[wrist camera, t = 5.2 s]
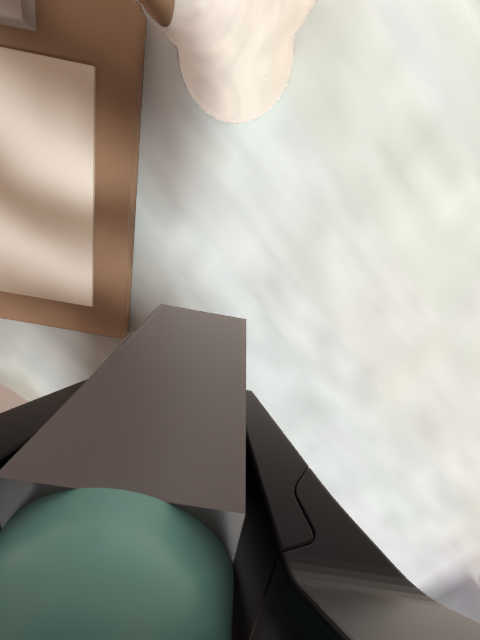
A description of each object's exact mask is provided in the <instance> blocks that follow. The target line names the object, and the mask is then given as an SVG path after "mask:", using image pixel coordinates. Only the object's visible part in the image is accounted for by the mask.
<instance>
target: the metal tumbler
mask: <svg viewBox="0 0 480 640" xmlns="http://www.w3.org/2000/svg"><path fill="white" fill-rule="evenodd" d="M139 1H140V2H141V4H142V5H143V7H144V8H145V9H146V11H147V12H148V13H149V15H150V16H151V17H152V18H153V19H154V21H155V22H156V23H157V24H158V25H159V27H160V28H161V29H162V30H163V32H164V33H165V34H166V35H167V36H168V37H169V39H170V40H171V41H172V42H173V43H174V44H175V45H176V47H177V48H178V55H179V63H180V69H181V73H182V76H183V79H184V82H185V85H186V87H187V89H188V91H189V93H190V95H191V96H192V98H193V99H194V101H195V102H196V103H197V105H198V106H199V107H200V108H201V109H202V110H203V111H205V112H206V113H207V114H209V115H210V116H212V117H214V118H215V119H218V120H220V121H223V122H227V123H245V122H249V121H252V120H255V119H257V118H259V117H261V116H262V115H264V114H265V113H266V112H268V111H269V110H270V109H271V108H272V107H273V106H274V105H275V104H276V102H277V101H278V100H279V98H280V97H281V95H282V93H283V92H284V90H285V88H286V86H287V83H288V81H289V78H290V74H291V70H292V65H293V58H294V36H295V34H296V33H297V31H298V30H299V28H300V27H301V25H302V24H303V22H304V21H305V19H306V17H307V16H308V14H309V13H310V11H311V9H312V8H313V6H314V5H315V3H316V1H317V0H139Z"/></svg>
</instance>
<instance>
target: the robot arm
mask: <svg viewBox="0 0 480 640" xmlns="http://www.w3.org/2000/svg"><path fill="white" fill-rule="evenodd" d="M87 380H88V379H87ZM87 380H84V381H82V382H79V383H77V384H74V385H72V386H69V387H66V388H64V389H61V390H59V391H56V392H54V393H51V394H48V395H46V396H43V397H41V398H38V399H36V400H33V401H31V402H28V403H25V404H23V405H20V406H18V407H15V408H13V409H10V410H8V411H5V412H3V413H0V470H1V469H2V468H3V467H4V466H5V465H6V463H7V462H8V461H9V460H10V459H11V458H12V457H13V456H14V455H15V454H16V453H17V452H18V451H19V450H20V449H21V448H22V447H23V446H24V445H25V444H26V443H27V442H28V441H29V440H30V439H31V438H32V437H33V436H34V435H35V434H36V433H37V432H38V430H39V429H40V428H41V427H42V426H43V425H44V424H45V423H46V422H47V421H48V420H49V419H50V418H51V417H52V416H53V415H54V414H55V413H56V412H57V411H58V410H59V409H60V408H61V407H62V406H63V405H64V404H65V403H66V402H67V401H68V400H69V399H70V397H71V396H72V395H73V394H74V393H75V392H76V391H77V390H78V389H79V388H80V387H81V386H82V385H83V384H84V383H85V382H86V381H87ZM0 531H1V524H0ZM232 568H233V572H234V595H233V624H232V640H480V623H479V622H477V621H474V620H472V619H470V618H468V617H466V616H464V615H462V614H460V613H458V612H456V611H454V610H452V609H450V608H448V607H446V606H444V605H442V604H440V603H438V602H437V601H435V600H433V599H432V598H430V597H429V596H427V595H426V594H425V593H423V592H422V591H421V590H419V589H418V588H417V587H416V586H415V585H414V584H412V583H411V582H410V581H409V580H408V579H407V578H406V577H405V576H404V575H403V574H402V573H401V572H400V571H399V570H398V569H397V568H396V567H395V565H394V564H393V563H392V562H391V561H390V560H389V559H388V558H387V557H386V556H385V554H384V553H383V552H382V551H381V550H380V549H379V548H378V547H377V546H376V545H375V543H374V542H373V541H372V540H371V539H370V538H369V537H368V536H367V535H366V534H365V533H364V531H363V530H362V529H361V528H360V527H359V526H358V525H357V524H356V523H355V522H354V520H353V519H352V518H351V517H350V516H349V515H348V514H347V513H346V511H345V510H344V509H343V508H342V507H341V506H340V505H339V503H338V502H337V501H336V500H335V499H334V498H333V497H332V495H331V494H330V493H329V492H328V490H327V489H326V488H325V487H324V485H323V484H322V483H321V482H320V480H319V479H318V478H317V476H316V475H315V474H314V472H313V471H312V470H311V469H310V468H309V466H308V465H307V463H306V462H305V461H304V459H303V458H302V457H301V455H300V454H299V453H298V451H297V450H296V449H295V448H294V446H293V445H292V444H291V442H290V441H289V440H288V438H287V437H286V436H285V434H284V433H283V432H282V430H281V429H280V428H279V426H278V425H277V424H276V422H275V421H274V420H273V418H272V417H271V416H270V415H269V413H268V412H267V411H266V409H265V408H264V407H263V405H262V404H261V403H260V401H259V400H258V399H257V397H256V396H255V395H254V393H253V392H252V391H250V390H246V492H245V517H244V521H243V525H242V529H241V533H240V537H239V541H238V545H237V549H236V552H235V556H234V560H233V564H232Z"/></svg>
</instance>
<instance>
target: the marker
mask: <svg viewBox="0 0 480 640" xmlns="http://www.w3.org/2000/svg"><path fill="white" fill-rule="evenodd" d="M245 492H246V319H241V318H236V317H230V316H224V315H219V314H213V313H207V312H202V311H196V310H190V309H185V308H179V307H173V306H167V305H162V304H161V305H160V306H159V307H158V308H157V309H156V310H155V311H154V312H153V313H152V314H151V315H150V316H149V317H148V318H147V319H146V320H145V321H144V322H143V323H142V324H141V325H140V326H139V327H138V328H137V329H136V330H135V331H134V333H133V334H132V335H131V336H130V337H129V338H128V339H127V340H126V341H125V342H124V343H123V344H122V345H121V346H120V347H119V348H118V349H117V350H116V351H115V352H114V353H113V354H112V355H111V356H110V357H109V358H108V359H107V360H106V361H105V362H104V363H103V364H102V366H101V367H100V368H99V369H98V370H97V371H96V372H95V373H94V374H93V375H92V376H91V377H90V378H89V379H88V380H87V381H86V382H85V383H84V384H83V385H82V386H81V387H80V388H79V389H78V390H77V391H76V392H75V393H74V394H73V395H72V396H71V397H70V399H69V400H68V401H67V402H66V403H65V404H64V405H63V406H62V407H61V408H60V409H59V410H58V411H57V412H56V413H55V414H54V415H53V416H52V417H51V418H50V419H49V420H48V421H47V422H46V423H45V424H44V425H43V426H42V427H41V428H40V429H39V430H38V432H37V433H36V434H35V435H34V436H33V437H32V438H31V439H30V440H29V441H28V442H27V443H26V444H25V445H24V446H23V447H22V448H21V449H20V450H19V451H18V452H17V453H16V454H15V455H14V456H13V457H12V458H11V459H10V460H9V461H8V462H7V463H6V465H5V466H4V467H3V468H2V469H1V470H0V524H1V531H0V640H232V624H233V595H234V572H233V568H232V564H233V560H234V556H235V552H236V549H237V545H238V541H239V537H240V533H241V529H242V525H243V521H244V517H245Z"/></svg>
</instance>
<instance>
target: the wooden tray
mask: <svg viewBox="0 0 480 640" xmlns="http://www.w3.org/2000/svg"><path fill="white" fill-rule="evenodd" d="M145 32H146V16H145V14H144V12H143V10H142V8H141V6H140V4H139V2H137V1H132V0H0V318H4V319H10V320H16V321H22V322H28V323H34V324H40V325H46V326H52V327H57V328H63V329H69V330H75V331H81V332H87V333H93V334H99V335H105V336H110V337H116V338H123V337H124V336H125V335H126V334H127V333H128V332H129V317H130V299H131V282H132V264H133V246H134V228H135V210H136V192H137V175H138V157H139V139H140V121H141V103H142V85H143V68H144V50H145Z"/></svg>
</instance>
